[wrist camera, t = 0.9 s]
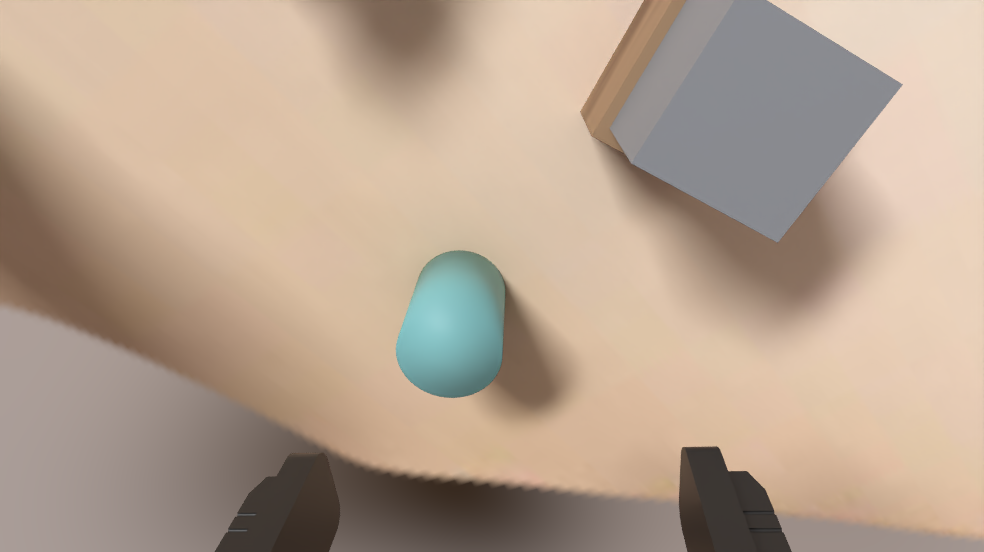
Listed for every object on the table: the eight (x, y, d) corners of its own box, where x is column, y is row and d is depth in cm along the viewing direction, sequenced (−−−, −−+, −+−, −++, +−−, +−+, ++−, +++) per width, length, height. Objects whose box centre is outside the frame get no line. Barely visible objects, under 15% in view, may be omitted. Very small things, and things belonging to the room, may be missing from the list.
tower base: (580, 111, 28) (591, 136, 23) (661, -31, 25) (692, -34, 21) (699, 176, 29) (732, 212, 24) (789, 46, 26) (845, 59, 22)
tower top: (609, 128, 23) (630, 163, 19) (695, -15, 21) (743, -14, 17) (729, 194, 24) (777, 242, 20) (824, 63, 22) (902, 84, 17)
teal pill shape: (403, 306, 33) (379, 371, 27) (440, 235, 31) (423, 289, 25) (480, 342, 33) (473, 412, 28) (521, 275, 31) (521, 335, 26)
